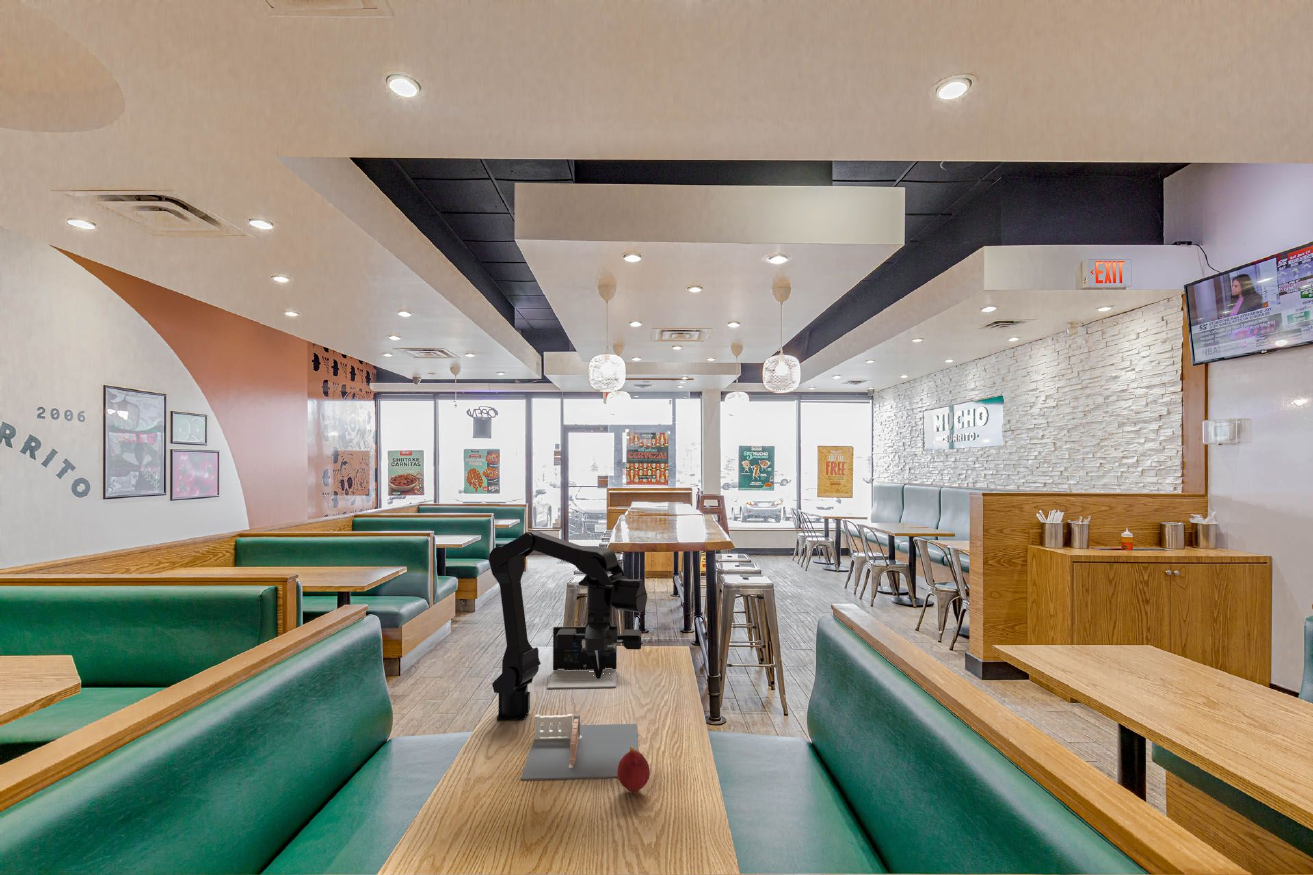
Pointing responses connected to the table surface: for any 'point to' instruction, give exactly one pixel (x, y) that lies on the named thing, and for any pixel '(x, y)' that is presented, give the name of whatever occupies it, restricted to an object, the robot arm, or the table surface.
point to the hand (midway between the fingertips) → (598, 677)
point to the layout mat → (581, 753)
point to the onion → (633, 771)
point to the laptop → (579, 666)
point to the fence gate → (575, 738)
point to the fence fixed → (554, 726)
